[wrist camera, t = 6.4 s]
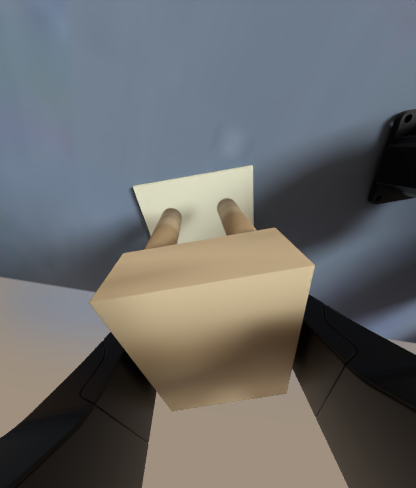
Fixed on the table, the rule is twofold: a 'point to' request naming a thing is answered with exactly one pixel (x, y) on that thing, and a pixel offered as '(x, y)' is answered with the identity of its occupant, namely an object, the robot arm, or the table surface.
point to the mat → (197, 201)
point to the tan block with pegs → (209, 310)
